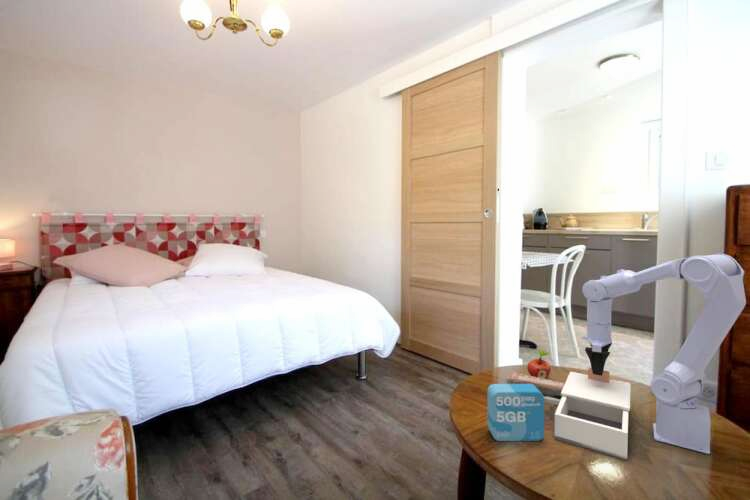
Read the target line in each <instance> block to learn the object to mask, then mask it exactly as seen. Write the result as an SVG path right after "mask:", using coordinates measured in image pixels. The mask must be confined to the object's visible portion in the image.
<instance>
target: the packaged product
mask: <svg viewBox="0 0 750 500" xmlns="http://www.w3.org/2000/svg"><path fill="white" fill-rule="evenodd" d="M506 384H533V385H534V386H535V387H536V388H537V389H538V390H539V391H540V392H541V393H542V394H543V396H544V403H547V404H550V405H551V404H552V405H556V406H558V405H559V403H560V400H561V398H562V396H563V395H561V392H562V389H563V387H564V385H565V382H560V381H557V380H551V379H548V378H547V379H543V378H538V377H533V376H531V375H529V374H528V375H527V374H523V373H522V374H521V373H517V372H511V373H510V374H509V375H508V377H507V378H506Z"/></svg>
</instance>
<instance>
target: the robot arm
mask: <svg viewBox="0 0 750 500" xmlns="http://www.w3.org/2000/svg"><path fill="white" fill-rule="evenodd" d="M744 274H745V270H744V269H743V268H742V267H741V265H740V264H739V263H738V262H737V260H736V259H735V258H734V257H732V256H731V255H728V254H725V253H713V254H709V255H692V256H689V257H686V258H685V257H683V258H677V259H673V260H670V261H666V262H663V263H661V264H658V265H655V266H651V267H649V268H645V269H643V270H641V271H637V272H635V271H634V270H630V269H627V270H626V269H623V268H622V269H619V270H616V273H614V274H611V275H602V276H600V277H599V278H600V279H596V280H595V279H590V280H588V281H586V282H585V283H584V284H583V285H582V288H581V289H582V294H583V296H584V298H585V299H586V334H582V336H581V337H582V339H583V340H587V342H588V343H589V344H590V347H588V346H585V348H584V351H585V354H586V355H587V357H588V359H589V363H590V368H592V372H593V374H595V375H600V376H602V374H603V370H604V369H605V365H606V361H607V359H608V357H610V354H611V351H609V349H610V348H611V346H612V344H613V339H612V304H613V299H614V298H616V297H620V296H623V295H624V296H625V295H628V294H633V293H636V292H639V291H640V289H642V286H643V285H645V284H650V283H654V282H657V281H658V282H659V281H661V280H666V279H669V278H675V279H677V280H685V281H686V282H687V283H689V284H690V285H691V286H692V287H693V288H694V289H695V290H697V291H698V292H699V293H700V294H701V295H702V297H703V298H704V299H705V302H706V305H705V307H704V309H703V310H702V312H701V313H700V315H699V317H698V318H697V321H696V322H695V324H694V325H693V327H692V328H691V331H690V332H689V335H687V337H686V339H685V341H684V343H683V344H682V346H681V348H680V349H679V351H678V353H677V355H676V357H675V358H674V360H673V361H672V362H670V364H668V365H667V366H666V367H665V368H663V370H662V372H661V373H660V374H659V375H655V376H654V377H653V378H652V379H651V380H650V383H649V386H650V389H651V392H652V394H653V395H654V397H655V398H656V405H655V406H656V408H655V409H656V411H655V416H656V417H655V422H654V423H653V422H652V426H653V437H654V440H656V441H658V442H662V443H666V444H668V445H673V446H677V447H681V448H685V449H687V450H692V451H695V452H700V453H704V454H706V455H710V454H711V438H712V437H711V414H710V413H711V412H710V408H709V407H707V406H705V405H700V404H698V401H697V397H698V396H700V395H701V394H702V393H703V390H704V380H705V378H706V376H707V375H706V373H705V369H706V368H707V366H708V365H709V363H710V362H711V360H712V358H713V357H714V355H715V354H716V352H717V351H718V350H719V348H720V346H721V344H722V343H723V341H724V339H725V338H726V336H727V335H728V333H729V332H730V330H731V329H732V327H733V326H734V324H735V322H736V321H737V319H738V317H739V316H740V315H741V313H742V311H743V310H744V309H745V307H746V304H747V299H746V294H745V293H746V292H745V288H744V287H745V286H744V276H745V275H744ZM604 371H605V370H604Z"/></svg>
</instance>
